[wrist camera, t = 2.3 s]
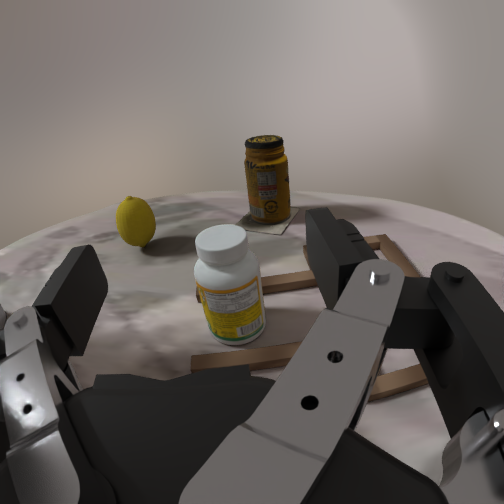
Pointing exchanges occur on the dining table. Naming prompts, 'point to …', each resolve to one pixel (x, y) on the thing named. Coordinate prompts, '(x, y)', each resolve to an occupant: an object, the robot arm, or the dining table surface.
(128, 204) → the lemon
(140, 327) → the dining table surface
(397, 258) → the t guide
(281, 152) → the condiment
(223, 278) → the supplement bottle
